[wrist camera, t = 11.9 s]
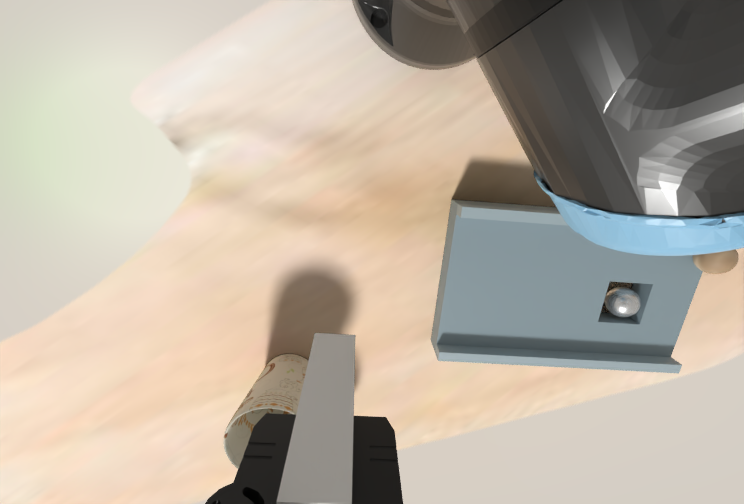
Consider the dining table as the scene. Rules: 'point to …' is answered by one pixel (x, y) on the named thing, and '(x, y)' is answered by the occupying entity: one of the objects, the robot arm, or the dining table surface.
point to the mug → (266, 401)
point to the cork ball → (716, 261)
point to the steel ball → (622, 301)
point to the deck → (552, 294)
